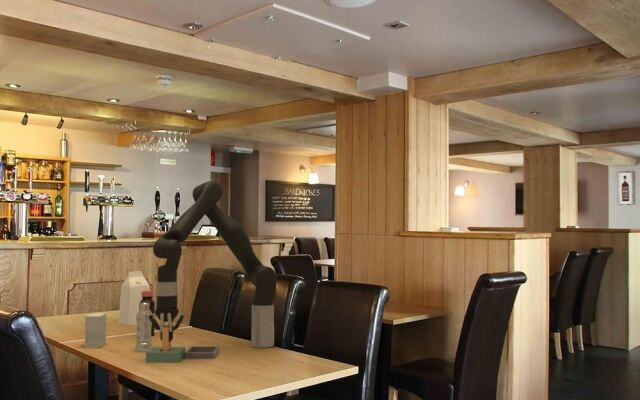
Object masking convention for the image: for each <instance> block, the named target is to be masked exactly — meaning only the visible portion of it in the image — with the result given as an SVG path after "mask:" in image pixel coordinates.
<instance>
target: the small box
mask: <svg viewBox="0 0 640 400" xmlns="http://www.w3.org/2000/svg"><path fill="white" fill-rule="evenodd" d="M106 344H107V312H106V313H105V312H104V313H103V312H102V313H101V312H96V313H95V312H94V313H93V312H92V313H89V314H87V315H85V316H84V348H85V349H101V348H102V347H103V346H105V345H106Z"/></svg>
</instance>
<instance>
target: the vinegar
mask: <svg viewBox="0 0 640 400" xmlns="http://www.w3.org/2000/svg"><path fill="white" fill-rule="evenodd" d="M153 297H154V291H153V290H150V291H142V300H141V301H140V302H139V310H140V303H141V302H149V306H150V307H149V310H150V311H151V312H152V314H154V313H155V310H156V308H155V307H156V301H154V299H153ZM153 336H155V328H154V326H153V324H152V326H151V337H153Z"/></svg>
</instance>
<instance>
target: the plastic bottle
mask: <svg viewBox="0 0 640 400" xmlns="http://www.w3.org/2000/svg"><path fill="white" fill-rule="evenodd" d="M149 307H150V306H149V302H141V303H140V310H139V311H138V313H137V315H136V321H137V325H136V333H137V334H136V342H135V352H137V353H146V352H147V351H148V350H150V349H151V348H152V347H154V346H153V339H152V336H151V326H152V323H151V321H150V319H149V316H150V315H151V314H152V312H151V311H150V310H149Z"/></svg>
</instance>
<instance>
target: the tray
mask: <svg viewBox="0 0 640 400" xmlns="http://www.w3.org/2000/svg"><path fill="white" fill-rule="evenodd" d="M219 352H220V346H215V345H213V346H205V345H204V346H203V345H200V346H197V345H194V346H192V345H191V346H190V347H188V349H187V350H185V353H184V358H183V359H184V360H186V359H187V360H188V359H189V360H193V359H194V360H196V359H197V360H199V359H200V360H203V359H205V360H207V359H208V360H214V359H215V358H216V357H217V355H218V354H219Z"/></svg>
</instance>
